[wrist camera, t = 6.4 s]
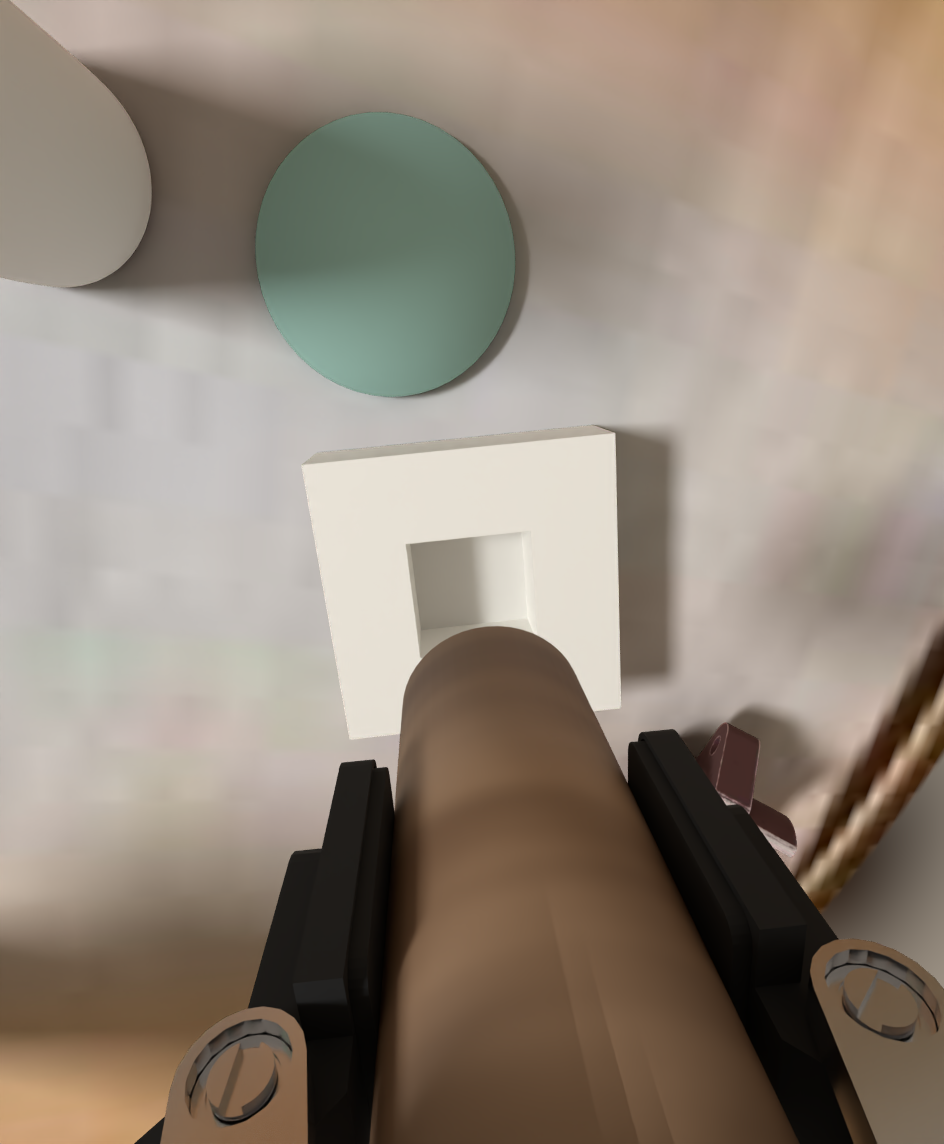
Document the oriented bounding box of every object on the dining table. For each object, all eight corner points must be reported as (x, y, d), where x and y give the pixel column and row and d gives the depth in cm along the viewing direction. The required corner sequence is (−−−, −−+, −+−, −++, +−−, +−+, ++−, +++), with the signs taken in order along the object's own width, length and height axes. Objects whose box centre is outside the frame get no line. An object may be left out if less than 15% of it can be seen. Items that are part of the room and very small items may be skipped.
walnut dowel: (583, 775, 15) (943, 1732, 4) (412, 793, 15) (373, 1828, 4) (579, 617, 14) (1068, 1433, 3) (392, 635, 14) (272, 1552, 3)
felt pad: (521, 383, 27) (523, 384, 26) (284, 407, 27) (281, 408, 26) (503, 107, 24) (505, 101, 23) (235, 129, 24) (230, 124, 23)
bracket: (805, 752, 31) (832, 925, 22) (647, 949, 38) (621, 1133, 30) (684, 691, 32) (665, 832, 23) (555, 894, 40) (504, 1056, 31)
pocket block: (600, 671, 32) (621, 707, 28) (358, 699, 31) (349, 739, 28) (592, 424, 28) (615, 432, 24) (316, 452, 27) (301, 465, 24)
